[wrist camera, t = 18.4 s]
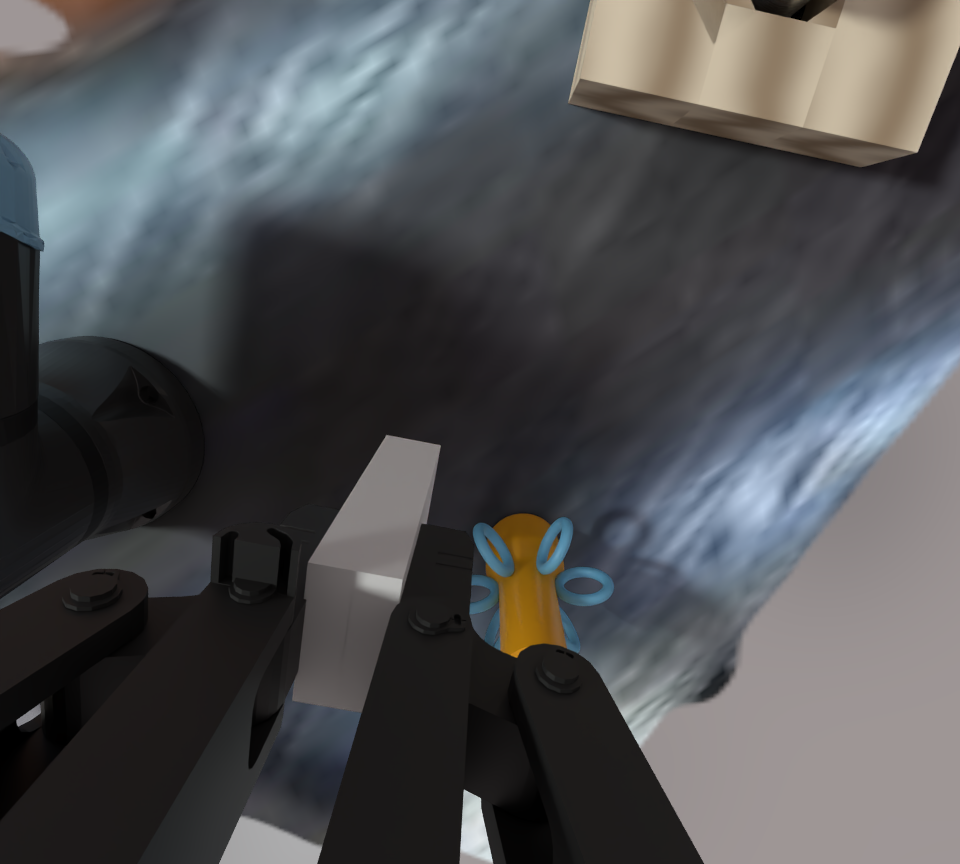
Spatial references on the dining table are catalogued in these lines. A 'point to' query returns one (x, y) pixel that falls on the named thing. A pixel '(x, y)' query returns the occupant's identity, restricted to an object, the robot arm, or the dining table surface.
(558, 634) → the orange post with rings
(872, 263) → the dining table surface
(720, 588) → the dining table surface
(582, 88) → the jig
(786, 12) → the grey metal peg
